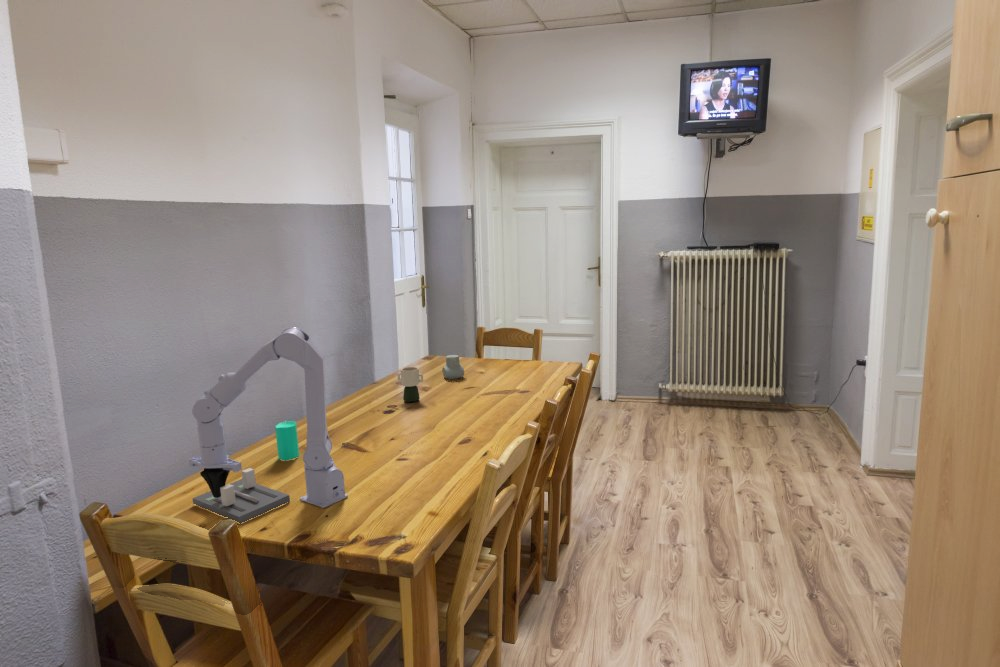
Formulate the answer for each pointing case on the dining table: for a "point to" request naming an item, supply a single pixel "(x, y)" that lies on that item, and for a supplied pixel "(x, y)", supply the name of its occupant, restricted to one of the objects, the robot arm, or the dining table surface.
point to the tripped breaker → (227, 495)
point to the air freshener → (453, 368)
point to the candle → (287, 440)
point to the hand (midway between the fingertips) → (218, 496)
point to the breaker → (248, 478)
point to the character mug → (410, 383)
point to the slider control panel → (244, 502)
